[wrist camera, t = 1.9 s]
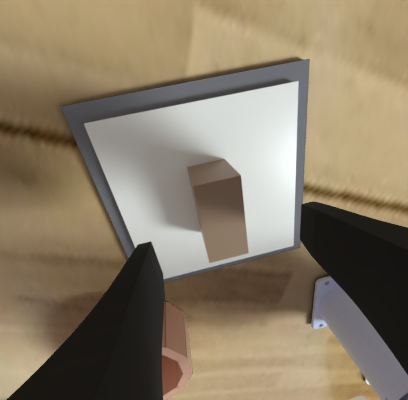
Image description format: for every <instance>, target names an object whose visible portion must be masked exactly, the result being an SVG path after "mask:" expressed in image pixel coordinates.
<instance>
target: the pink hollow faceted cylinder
mask: <svg viewBox="0 0 408 400" xmlns="http://www.w3.org/2000/svg"><path fill="white" fill-rule="evenodd" d="M192 374H193V368H192V358H191V348H190V338H189V328H188V324H187V321H186V318H185V315H184V312H183V311H181V310H180V309H178V308H176V307H175V306H173V305H172V304H170V303H168V302H167V301H164V319H163V338H162V384H163V400H167V399H169V398H170V397H172V396H173V395H175V394H177V393H178V392H180V391H181V390H183V389H184V388H185V386H186V385H187V383H188V381H189V379H190V377H191V376H192Z"/></svg>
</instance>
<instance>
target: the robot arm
mask: <svg viewBox="0 0 408 400" xmlns="http://www.w3.org/2000/svg"><path fill="white" fill-rule="evenodd" d="M300 240H301V241H302V243H303V244H304V246H305V247H306V249H307V250H308V252H309V253H310V254H311V256H312V257H313V258H314V259H315V260H316V261H317V262H318V264H319V265H320V266H321V267H322V268H323V269H324V270H325V271H326V272H327V273H328V274H329V275H330V276H327V277H323V278H320V279H318V280H317V281H316V283H315V292H314V302H313V312H312V321H311V326H312V328H313V329H318V328H322V327H325V326H328V327H329V328H330V329H331V331H332V332H333V334H334V335H335V336H336V338H337V339H338V340H339V342H340V343H341V345H342V346H343V347H344V349H345V350H346V352H347V353H348V354H349V356H350V357H351V359H352V360H353V361H354V363H355V364H356V365H357V367H358V368H359V370H360V371H361V372H362V374H363V375H364V377H365V378H366V379H367V381H368V382H369V384H370V385H371V386H372V388H373V389H374V391H375V392H376V393H377V395H378V396H379V397H380V399H381V400H408V228H407V227H403V226H399V225H395V224H391V223H387V222H383V221H380V220H376V219H372V218H369V217H366V216H362V215H359V214H356V213H352V212H349V211H346V210H342V209H339V208H336V207H333V206H329V205H326V204H322V203H318V202H309V203H305V204H301V222H300ZM164 297H165V294H164V279H163V272H162V269H161V267H160V264H159V261H158V258H157V256H156V253H155V250H154V248H153V245H152V242H151V241H150V242H146V243H142V244H138V245H137V247H136V248H135V250H134V251H133V253H132V254H131V256H130V257H129V259H128V260H127V262H126V264H125V265H124V267H123V268H122V270H121V271H120V273H119V274H118V276H117V277H116V279H115V280H114V282H113V283H112V285H111V286H110V287H109V289H108V290H107V291H106V293H105V294H104V295H103V297H102V298H101V299H100V301H99V302H98V304H97V305H96V306H95V307H94V309H93V310H92V311H91V312H90V314H89V315H88V316H87V317H86V318H85V319H84V321H83V322H82V323H81V324H80V325H79V326H78V328H77V329H76V330H75V331H74V332H73V333H72V334H71V336H70V337H69V338H68V339H67V340H66V341H65V342H64V343H63V344H62V345H61V346H60V347H59V348H58V349H57V350H56V351H55V352H54V353H53V355H52V356H51V357H50V358H49V359H48V360H47V361H46V362H45V363H44V364H43V365H42V366H41V367H40V368H39V369H38V370H37V371H36V372H35V373H34V374H33V375H32V376H31V377H30V378H29V379H28V380H27V381H26V382H25V383H24V384H23V385H22V386H21V387H20V388H19V389H18V390H16V391H15V392H14V393H13V394H12V395H11V396H10V397H9V398H8V399H7V400H163V384H162V338H163V319H164Z"/></svg>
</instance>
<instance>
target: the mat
mask: <svg viewBox="0 0 408 400" xmlns="http://www.w3.org/2000/svg"><path fill="white" fill-rule="evenodd" d="M309 61H310V59H306V60H301V61H296V62H291V63H285V64H280V65H275V66H270V67H264V68H259V69H254V70H249V71H243V72H238V73H233V74H228V75H222V76H217V77H212V78H207V79H202V80H196V81H191V82H186V83H181V84H175V85H170V86H165V87H160V88H154V89H149V90H144V91H139V92H134V93H128V94H123V95H118V96H113V97H107V98H102V99H97V100H92V101H86V102H81V103H76V104H71V105H65V106H60V107H61V110H62V112H63V114H64V116H65V119H66V121H67V123H68V125H69V127H70V130H71V132H72V134H73V136H74V139H75V141H76V143H77V145H78V148H79V150H80V152H81V154H82V156H83V159H84V161H85V163H86V165H87V168H88V170H89V172H90V174H91V177H92V179H93V181H94V183H95V185H96V188H97V190H98V192H99V194H100V197H101V199H102V201H103V203H104V206H105V208H106V210H107V212H108V214H109V217H110V219H111V221H112V223H113V226H114V228H115V230H116V232H117V234H118V237H119V239H120V241H121V243H122V246H123V248H124V250H125V252H126V255H127V257H128V259H129V257H130V256H131V254H132V253H133V251H134V250H135V246H134V244H133V241H132V239H131V236H130V234H129V232H128V229H127V227H126V224H125V222H124V220H123V217H122V215H121V212H120V210H119V208H118V205H117V203H116V200H115V198H114V196H113V193H112V191H111V188H110V186H109V184H108V181H107V179H106V176H105V174H104V172H103V169H102V167H101V164H100V162H99V159H98V157H97V155H96V152H95V150H94V147H93V145H92V143H91V140H90V138H89V135H88V133H87V131H86V128H85V126H84V123H88V122H93V121H98V120H103V119H108V118H113V117H118V116H123V115H128V114H133V113H138V112H143V111H148V110H153V109H159V108H164V107H169V106H174V105H179V104H184V103H189V102H194V101H199V100H204V99H209V98H214V97H219V96H224V95H229V94H234V93H239V92H244V91H249V90H254V89H259V88H264V87H270V86H275V85H280V84H285V83H290V82H296V81H299V83H298V116H297V149H296V183H295V216H294V246H291V247H287V248H283V249H279V250H275V251H271V252H268V253H264V254H260V255H256V256H252V257H248V258H244V259H240V260H236V261H233V262H229V263H225V264H221V265H217V266H213V267H209V268H205V269H201V270H198V271H194V272H190V273H186V274H182V275H178V276H174V277H170V278H166V279H164V283H165V282H169V281H173V280H177V279H181V278H185V277H189V276H193V275H196V274H200V273H204V272H208V271H212V270H216V269H220V268H223V267H227V266H231V265H235V264H239V263H243V262H247V261H251V260H254V259H258V258H262V257H266V256H270V255H274V254H278V253H281V252H285V251H289V250H293V249H297V248H300V244H301V240H300V222H301V204H303V183H304V163H305V143H306V122H307V102H308V82H309Z"/></svg>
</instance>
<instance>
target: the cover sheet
mask: <svg viewBox="0 0 408 400" xmlns="http://www.w3.org/2000/svg"><path fill="white" fill-rule="evenodd" d="M298 83H299V81H296V82H290V83H285V84H280V85H275V86H270V87H264V88H259V89H254V90H249V91H244V92H239V93H234V94H229V95H224V96H219V97H214V98H209V99H204V100H199V101H194V102H189V103H184V104H179V105H174V106H169V107H164V108H159V109H153V110H148V111H143V112H138V113H133V114H128V115H123V116H118V117H113V118H108V119H103V120H98V121H93V122H88V123H84V126H85V128H86V131H87V133H88V135H89V138H90V140H91V143H92V145H93V147H94V150H95V152H96V155H97V157H98V159H99V162H100V164H101V167H102V169H103V172H104V174H105V176H106V179H107V181H108V184H109V186H110V188H111V191H112V193H113V196H114V198H115V200H116V203H117V205H118V208H119V210H120V212H121V215H122V217H123V220H124V222H125V224H126V227H127V229H128V232H129V234H130V236H131V239H132V241H133V244H134V246H135V248H136V247H137V245H138V244H142V243H146V242H150V241H151V242H152V245H153V248H154V250H155V253H156V256H157V258H158V261H159V264H160V267H161V269H162V272H163V279H166V278H170V277H174V276H178V275H182V274H186V273H190V272H194V271H198V270H201V269H205V268H209V267H213V266H217V265H221V264H225V263H229V262H233V261H236V260H240V259H244V258H248V257H252V256H256V255H260V254H264V253H268V252H271V251H275V250H279V249H283V248H287V247H291V246H294V216H295V183H296V149H297V116H298Z"/></svg>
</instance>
